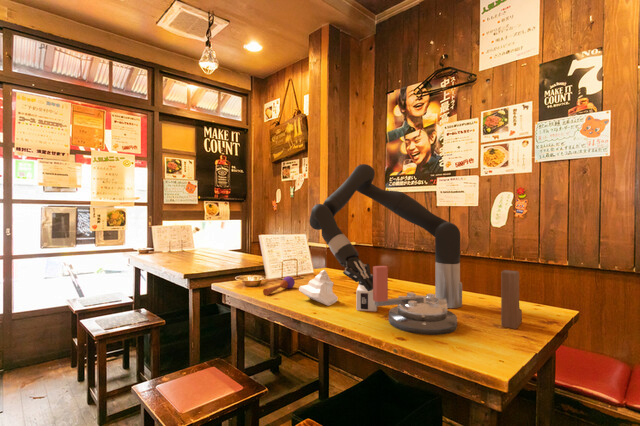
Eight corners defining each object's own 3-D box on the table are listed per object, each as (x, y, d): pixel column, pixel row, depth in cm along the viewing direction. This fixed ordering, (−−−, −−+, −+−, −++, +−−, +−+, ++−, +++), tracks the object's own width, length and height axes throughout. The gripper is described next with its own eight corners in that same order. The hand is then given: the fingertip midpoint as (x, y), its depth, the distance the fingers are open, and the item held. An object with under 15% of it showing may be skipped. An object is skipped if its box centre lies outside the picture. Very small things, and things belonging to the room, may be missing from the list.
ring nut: (428, 304, 122) (428, 260, 122) (457, 318, 107) (458, 267, 107) (364, 310, 115) (364, 263, 115) (386, 326, 100) (386, 271, 100)
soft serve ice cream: (320, 299, 149) (328, 268, 150) (340, 310, 137) (348, 276, 137) (297, 296, 142) (305, 263, 143) (315, 307, 130) (324, 271, 131)
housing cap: (437, 312, 125) (437, 303, 125) (470, 333, 103) (470, 322, 103) (380, 314, 122) (380, 305, 122) (402, 336, 100) (402, 325, 100)
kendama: (259, 286, 152) (286, 275, 169) (262, 299, 151) (288, 287, 168) (269, 285, 148) (295, 274, 165) (272, 298, 148) (298, 286, 165)
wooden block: (507, 319, 116) (507, 268, 116) (521, 322, 113) (521, 269, 113) (501, 326, 109) (501, 271, 109) (516, 329, 106) (516, 273, 106)
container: (376, 311, 125) (376, 277, 125) (356, 310, 127) (356, 276, 127) (377, 306, 133) (377, 273, 133) (358, 305, 134) (358, 272, 134)
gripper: (348, 254, 126) (376, 292, 117) (325, 258, 116) (352, 300, 108) (360, 241, 122) (389, 279, 114) (336, 244, 112) (366, 286, 104)
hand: (371, 289), depth 111 cm, fingers closed
